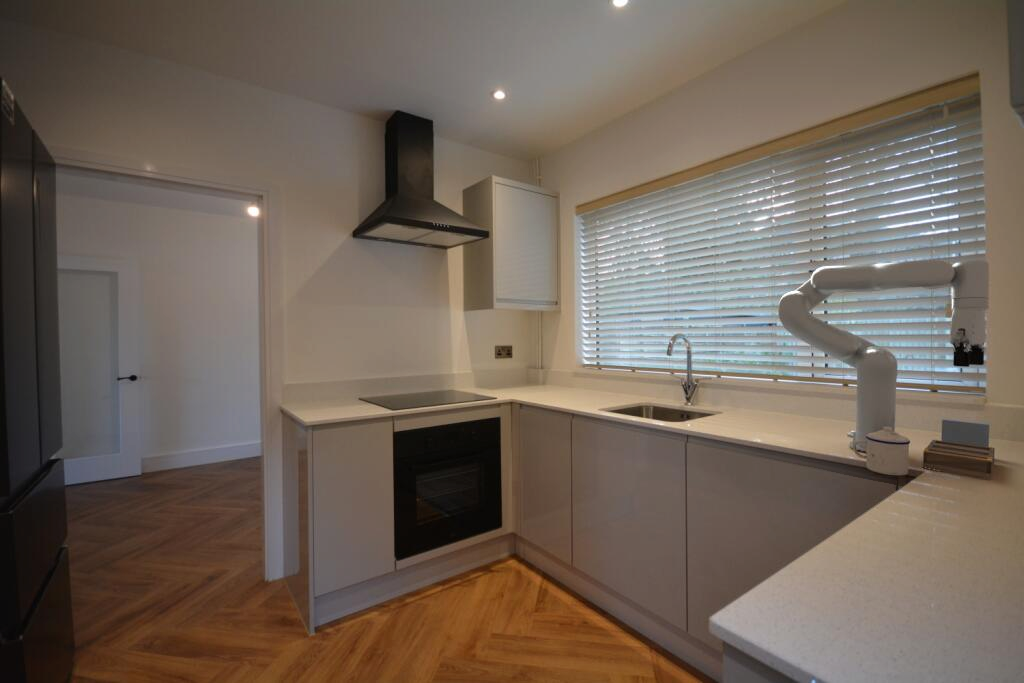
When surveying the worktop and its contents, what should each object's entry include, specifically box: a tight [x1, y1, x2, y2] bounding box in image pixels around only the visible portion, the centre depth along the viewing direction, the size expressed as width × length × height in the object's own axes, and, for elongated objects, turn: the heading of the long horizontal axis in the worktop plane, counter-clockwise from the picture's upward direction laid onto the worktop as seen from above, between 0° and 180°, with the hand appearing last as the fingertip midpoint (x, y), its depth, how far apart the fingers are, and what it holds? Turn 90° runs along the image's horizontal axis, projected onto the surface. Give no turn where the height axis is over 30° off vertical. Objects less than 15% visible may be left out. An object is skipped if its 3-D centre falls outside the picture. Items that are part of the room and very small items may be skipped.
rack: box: [922, 439, 996, 481], centre depth 127 cm, size 20×13×5 cm, turn 132°
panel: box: [940, 418, 990, 447], centre depth 139 cm, size 2×10×10 cm, turn 42°
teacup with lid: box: [852, 427, 911, 477], centre depth 124 cm, size 12×9×12 cm
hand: (968, 365), depth 131 cm, fingers open, 9 cm apart
